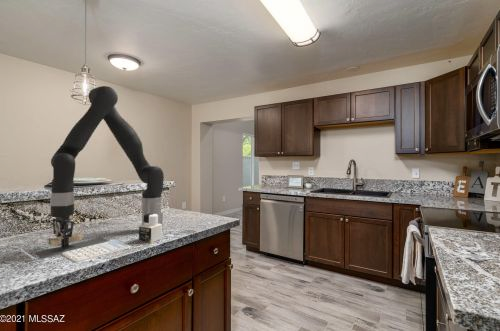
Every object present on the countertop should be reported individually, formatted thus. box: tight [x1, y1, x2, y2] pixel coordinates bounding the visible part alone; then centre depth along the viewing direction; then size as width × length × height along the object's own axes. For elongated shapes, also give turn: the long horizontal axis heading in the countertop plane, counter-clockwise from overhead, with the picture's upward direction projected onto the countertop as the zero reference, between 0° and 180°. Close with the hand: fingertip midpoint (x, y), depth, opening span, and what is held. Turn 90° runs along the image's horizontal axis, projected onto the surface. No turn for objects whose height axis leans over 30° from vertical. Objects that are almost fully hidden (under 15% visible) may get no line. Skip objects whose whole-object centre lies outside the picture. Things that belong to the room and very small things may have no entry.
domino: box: [47, 232, 84, 247], centre depth 99 cm, size 4×2×10 cm
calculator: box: [61, 239, 130, 263], centre depth 97 cm, size 13×20×2 cm, turn 145°
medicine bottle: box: [138, 213, 163, 245], centre depth 112 cm, size 7×7×12 cm
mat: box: [33, 237, 110, 259], centre depth 101 cm, size 24×9×1 cm, turn 146°
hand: (62, 246), depth 98 cm, fingers closed on domino, 4 cm apart
